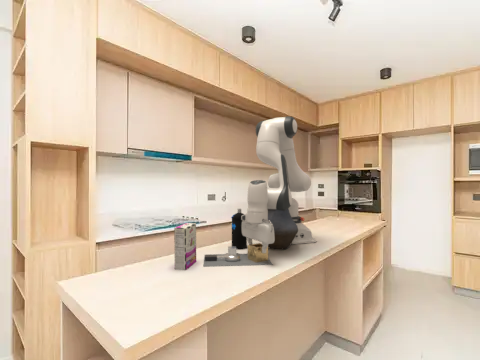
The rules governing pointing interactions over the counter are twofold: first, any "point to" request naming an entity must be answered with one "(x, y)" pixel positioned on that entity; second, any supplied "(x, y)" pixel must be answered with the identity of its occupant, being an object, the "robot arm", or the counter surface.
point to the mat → (243, 262)
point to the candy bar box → (185, 246)
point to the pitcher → (282, 228)
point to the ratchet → (225, 256)
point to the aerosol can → (238, 232)
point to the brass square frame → (257, 253)
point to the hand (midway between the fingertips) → (257, 250)
